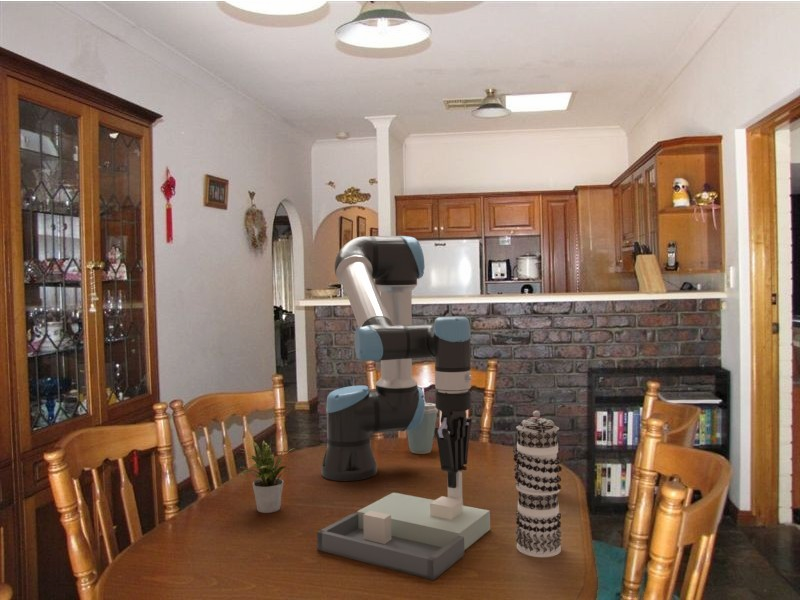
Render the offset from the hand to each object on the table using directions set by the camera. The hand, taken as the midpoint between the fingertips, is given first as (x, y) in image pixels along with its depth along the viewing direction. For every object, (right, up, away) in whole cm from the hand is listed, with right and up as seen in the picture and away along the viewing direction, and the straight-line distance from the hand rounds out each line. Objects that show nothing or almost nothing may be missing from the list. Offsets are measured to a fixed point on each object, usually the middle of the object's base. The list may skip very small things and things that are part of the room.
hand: (455, 501), depth 136 cm
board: (-7, -6, -1) cm, 9 cm away
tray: (-14, -6, -12) cm, 19 cm away
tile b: (-2, -2, -3) cm, 4 cm away
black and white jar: (+15, -6, -11) cm, 20 cm away
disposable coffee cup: (-5, -4, +62) cm, 62 cm away
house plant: (-43, -6, +14) cm, 46 cm away
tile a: (-16, -3, -6) cm, 17 cm away
